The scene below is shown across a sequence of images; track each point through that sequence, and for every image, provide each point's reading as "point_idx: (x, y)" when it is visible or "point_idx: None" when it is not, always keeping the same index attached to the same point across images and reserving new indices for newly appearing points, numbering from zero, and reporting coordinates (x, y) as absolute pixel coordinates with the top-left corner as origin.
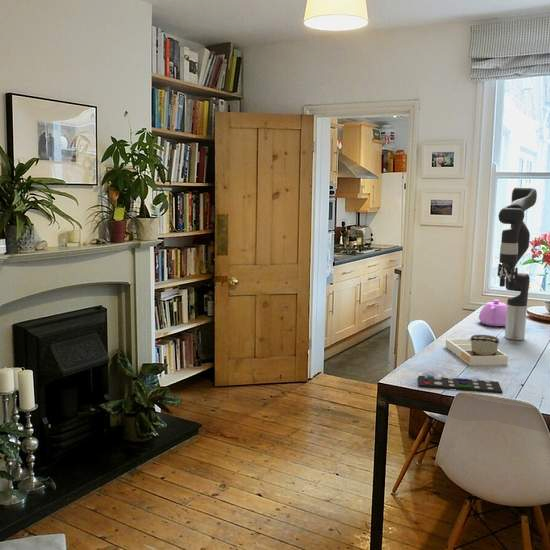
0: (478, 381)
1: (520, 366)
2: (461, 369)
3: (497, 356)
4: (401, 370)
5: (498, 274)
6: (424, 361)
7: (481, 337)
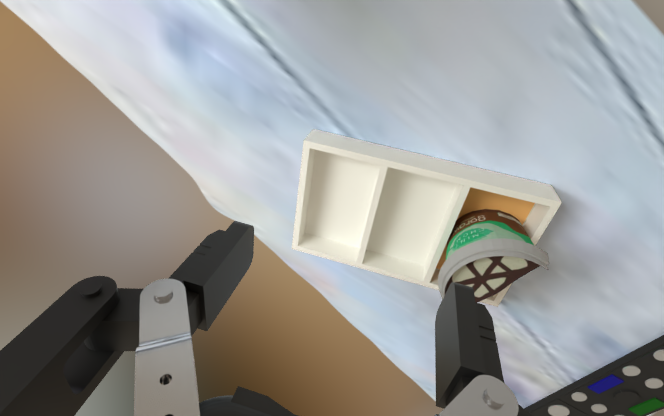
0: (642, 367)
1: (595, 152)
2: (511, 321)
3: (540, 235)
4: None
5: (112, 352)
6: (410, 345)
7: (461, 279)
